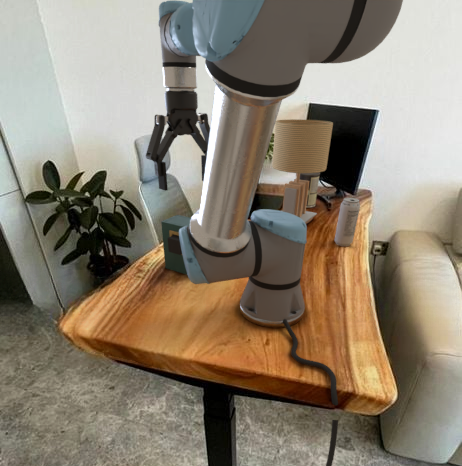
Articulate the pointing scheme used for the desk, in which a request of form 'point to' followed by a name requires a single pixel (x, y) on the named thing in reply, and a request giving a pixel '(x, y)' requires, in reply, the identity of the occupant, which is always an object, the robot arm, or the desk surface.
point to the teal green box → (168, 229)
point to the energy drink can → (347, 221)
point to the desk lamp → (300, 158)
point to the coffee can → (311, 187)
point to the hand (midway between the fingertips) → (185, 185)
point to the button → (174, 244)
